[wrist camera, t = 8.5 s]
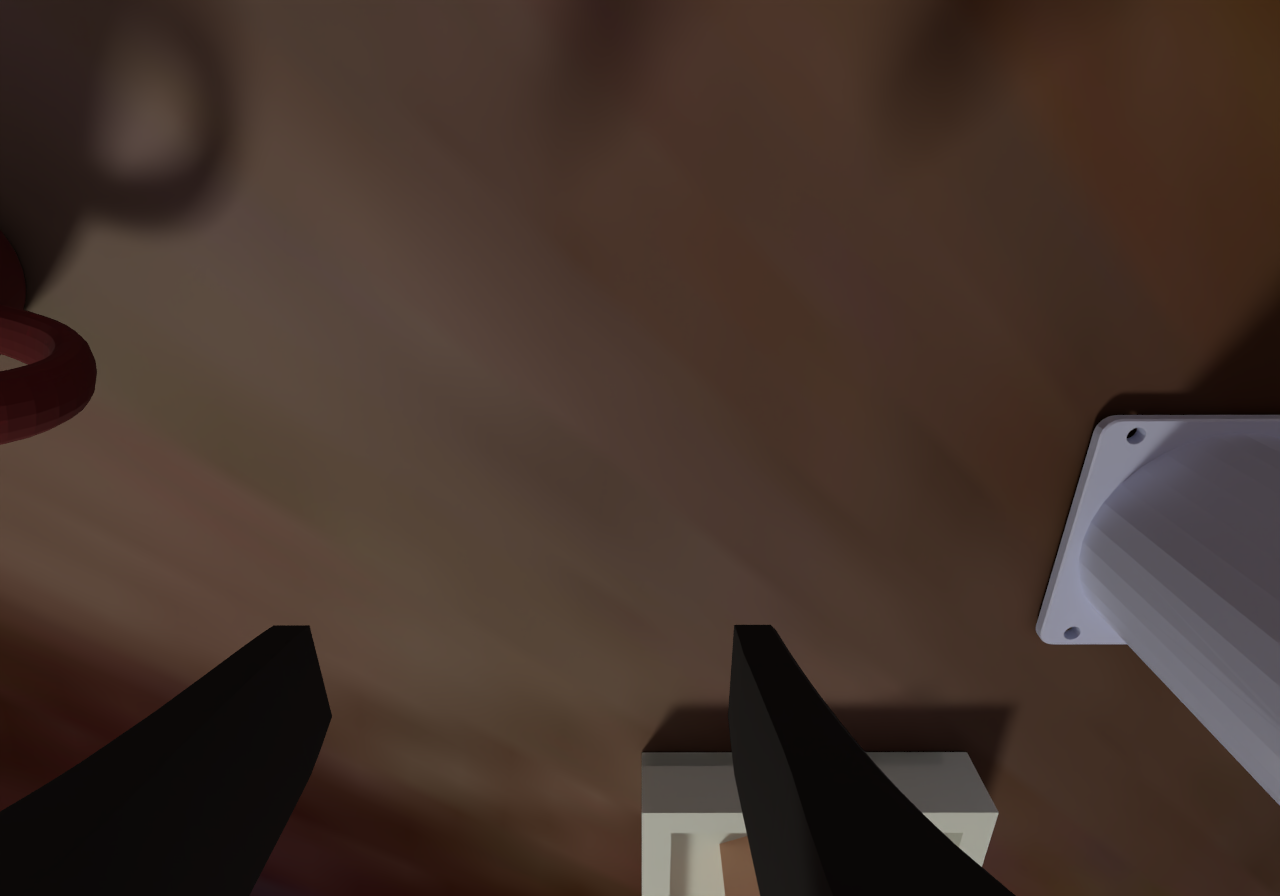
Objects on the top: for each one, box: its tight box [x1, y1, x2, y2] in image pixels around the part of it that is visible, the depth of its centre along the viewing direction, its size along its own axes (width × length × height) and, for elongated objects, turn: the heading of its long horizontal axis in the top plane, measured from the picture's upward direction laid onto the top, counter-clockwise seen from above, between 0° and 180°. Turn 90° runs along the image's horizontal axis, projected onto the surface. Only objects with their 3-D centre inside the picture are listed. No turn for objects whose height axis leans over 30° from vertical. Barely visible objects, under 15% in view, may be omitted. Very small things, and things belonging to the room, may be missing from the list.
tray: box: [642, 752, 999, 896], centre depth 27 cm, size 12×11×2 cm
